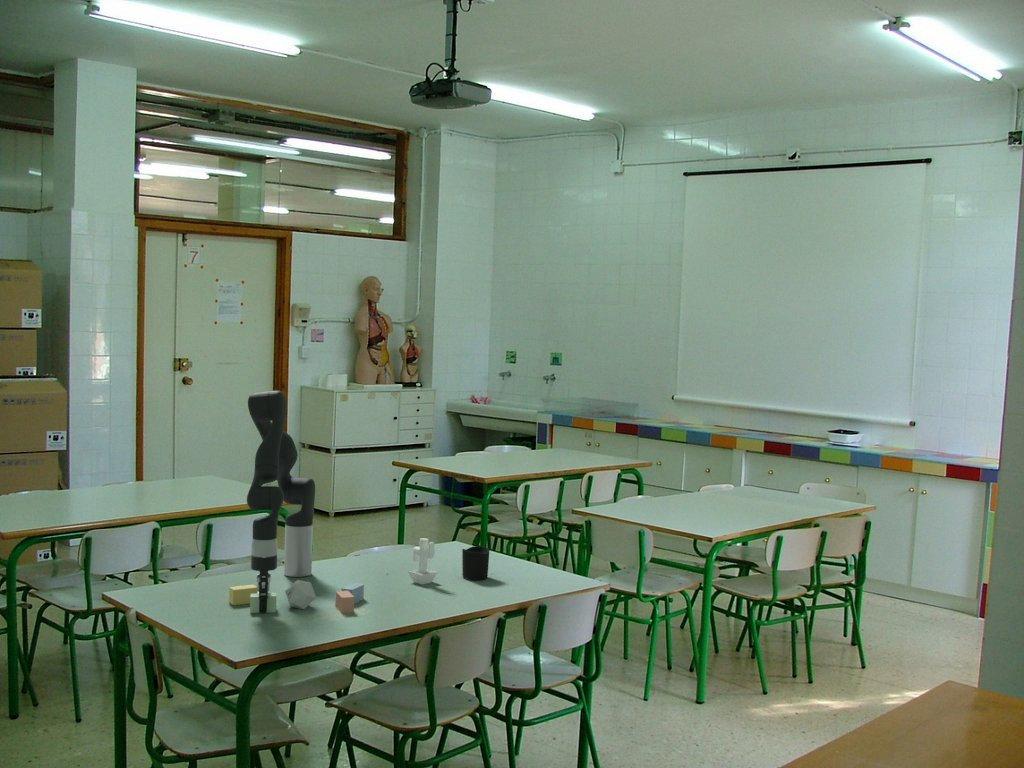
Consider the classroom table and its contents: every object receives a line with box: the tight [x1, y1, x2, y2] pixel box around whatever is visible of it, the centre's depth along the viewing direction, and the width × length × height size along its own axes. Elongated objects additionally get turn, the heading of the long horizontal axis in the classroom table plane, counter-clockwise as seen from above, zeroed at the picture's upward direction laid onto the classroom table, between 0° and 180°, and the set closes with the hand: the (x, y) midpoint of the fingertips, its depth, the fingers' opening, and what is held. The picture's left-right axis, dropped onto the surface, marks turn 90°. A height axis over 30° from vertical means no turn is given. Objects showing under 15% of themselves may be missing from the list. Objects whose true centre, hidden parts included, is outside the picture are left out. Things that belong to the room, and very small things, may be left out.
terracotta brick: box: [334, 590, 355, 614], centre depth 302 cm, size 4×8×5 cm, turn 24°
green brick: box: [249, 592, 277, 614], centre depth 298 cm, size 4×8×5 cm, turn 103°
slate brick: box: [340, 582, 365, 605], centre depth 312 cm, size 4×8×5 cm, turn 160°
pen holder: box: [461, 545, 490, 581], centre depth 347 cm, size 9×9×10 cm
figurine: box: [407, 537, 439, 586], centre depth 338 cm, size 7×9×15 cm
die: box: [284, 579, 317, 610], centre depth 303 cm, size 8×9×10 cm
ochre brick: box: [228, 584, 258, 606], centre depth 306 cm, size 4×8×5 cm, turn 123°
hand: (263, 609), depth 298 cm, fingers closed on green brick, 3 cm apart
